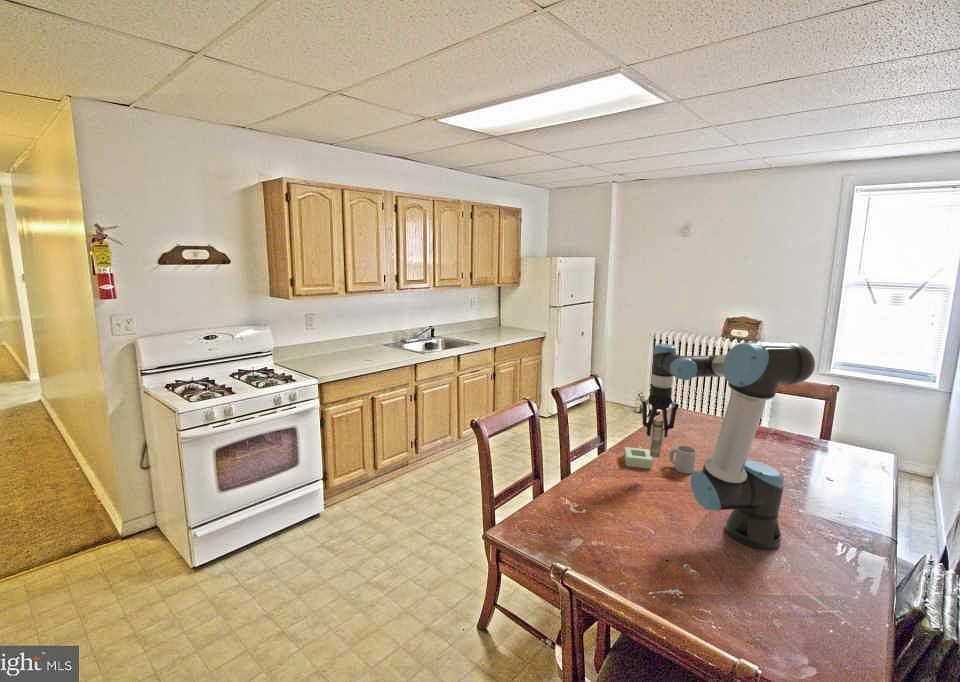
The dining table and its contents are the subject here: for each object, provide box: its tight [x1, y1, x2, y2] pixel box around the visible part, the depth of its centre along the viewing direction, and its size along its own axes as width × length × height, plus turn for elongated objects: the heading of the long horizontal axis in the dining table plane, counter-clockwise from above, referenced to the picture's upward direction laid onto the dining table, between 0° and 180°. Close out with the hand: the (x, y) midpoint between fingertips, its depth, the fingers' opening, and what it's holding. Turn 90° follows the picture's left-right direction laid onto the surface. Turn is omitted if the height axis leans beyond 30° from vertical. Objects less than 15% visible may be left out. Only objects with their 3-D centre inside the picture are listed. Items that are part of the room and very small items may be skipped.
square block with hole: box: [623, 446, 654, 470], centre depth 197 cm, size 10×10×4 cm
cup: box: [668, 445, 697, 475], centre depth 192 cm, size 7×10×9 cm
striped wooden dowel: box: [649, 418, 664, 459], centre depth 182 cm, size 4×4×14 cm
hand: (655, 444), depth 182 cm, fingers closed on striped wooden dowel, 3 cm apart
